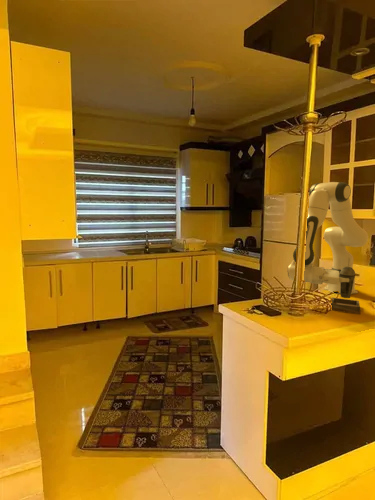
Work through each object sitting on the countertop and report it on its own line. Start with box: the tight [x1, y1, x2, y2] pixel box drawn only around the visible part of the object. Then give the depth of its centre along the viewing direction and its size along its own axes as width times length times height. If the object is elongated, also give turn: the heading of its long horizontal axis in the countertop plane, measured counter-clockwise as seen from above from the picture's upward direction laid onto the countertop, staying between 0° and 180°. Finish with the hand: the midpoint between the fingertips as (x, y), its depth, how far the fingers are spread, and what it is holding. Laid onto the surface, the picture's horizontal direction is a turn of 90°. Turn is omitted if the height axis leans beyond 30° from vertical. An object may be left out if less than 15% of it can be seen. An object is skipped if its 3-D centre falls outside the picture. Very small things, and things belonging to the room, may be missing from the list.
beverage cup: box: [340, 258, 356, 299], centre depth 177 cm, size 7×7×20 cm
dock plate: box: [331, 297, 362, 315], centre depth 179 cm, size 14×14×3 cm
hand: (349, 278), depth 177 cm, fingers closed on beverage cup, 7 cm apart
